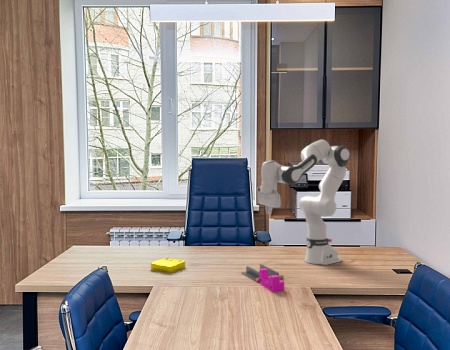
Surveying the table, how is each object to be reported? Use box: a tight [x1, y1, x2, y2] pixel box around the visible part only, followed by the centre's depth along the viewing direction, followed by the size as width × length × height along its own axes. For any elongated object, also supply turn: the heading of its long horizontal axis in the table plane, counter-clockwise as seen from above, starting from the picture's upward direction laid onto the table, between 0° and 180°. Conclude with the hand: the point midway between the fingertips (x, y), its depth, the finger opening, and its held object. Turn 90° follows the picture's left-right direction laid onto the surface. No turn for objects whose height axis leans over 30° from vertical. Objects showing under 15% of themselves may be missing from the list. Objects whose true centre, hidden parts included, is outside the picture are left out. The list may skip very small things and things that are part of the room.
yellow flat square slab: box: [150, 257, 186, 274], centre depth 266 cm, size 15×15×5 cm
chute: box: [240, 263, 284, 283], centre depth 251 cm, size 16×18×4 cm
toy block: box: [258, 268, 285, 293], centre depth 233 cm, size 15×6×8 cm, turn 21°
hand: (268, 213), depth 264 cm, fingers closed
